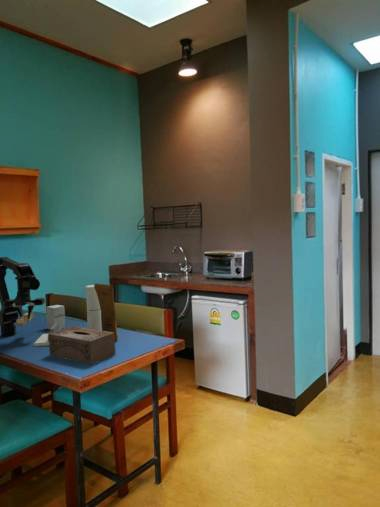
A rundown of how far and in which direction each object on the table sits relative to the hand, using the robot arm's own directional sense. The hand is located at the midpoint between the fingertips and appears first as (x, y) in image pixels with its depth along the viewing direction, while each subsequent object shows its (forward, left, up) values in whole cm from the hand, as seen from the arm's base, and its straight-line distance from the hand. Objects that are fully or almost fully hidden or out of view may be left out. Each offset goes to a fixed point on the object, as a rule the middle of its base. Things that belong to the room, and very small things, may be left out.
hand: (25, 319), depth 202 cm
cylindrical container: (+33, +8, -11) cm, 36 cm away
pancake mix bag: (+42, -6, -11) cm, 43 cm away
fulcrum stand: (+15, -4, -11) cm, 19 cm away
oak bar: (0, 0, -1) cm, 1 cm away
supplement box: (+10, +21, -11) cm, 26 cm away
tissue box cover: (+32, -29, -11) cm, 45 cm away
